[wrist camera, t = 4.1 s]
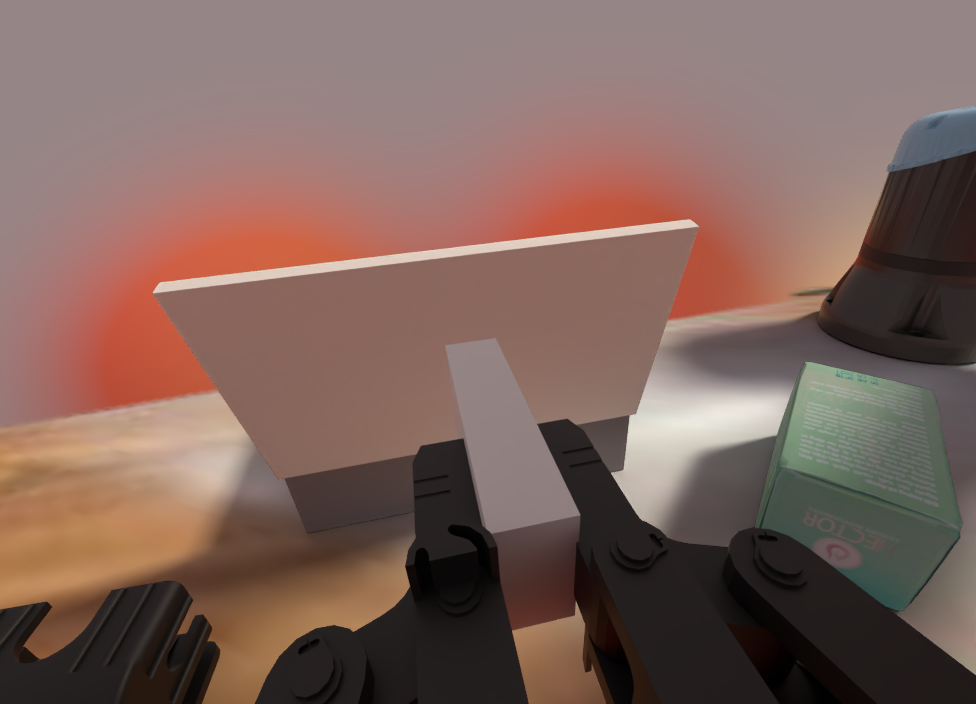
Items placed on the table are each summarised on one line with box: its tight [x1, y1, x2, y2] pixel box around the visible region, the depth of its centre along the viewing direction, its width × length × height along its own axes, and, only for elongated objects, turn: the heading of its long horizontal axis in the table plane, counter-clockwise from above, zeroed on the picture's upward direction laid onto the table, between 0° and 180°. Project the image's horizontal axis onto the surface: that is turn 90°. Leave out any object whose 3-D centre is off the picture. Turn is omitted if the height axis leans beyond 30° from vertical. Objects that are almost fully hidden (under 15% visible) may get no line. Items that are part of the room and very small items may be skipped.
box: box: [755, 362, 963, 611], centre depth 27 cm, size 7×14×8 cm, turn 143°
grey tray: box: [285, 415, 630, 533], centre depth 36 cm, size 24×14×6 cm, turn 101°
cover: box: [152, 220, 699, 480], centre depth 23 cm, size 24×14×1 cm
